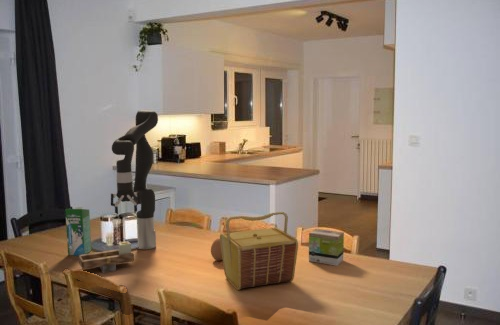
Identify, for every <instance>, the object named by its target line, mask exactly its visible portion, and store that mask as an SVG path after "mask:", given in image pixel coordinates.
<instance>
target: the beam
mask: <svg viewBox="0 0 500 325" xmlns="http://www.w3.org/2000/svg"><path fill="white" fill-rule="evenodd" d="M77 256H78V257H77V258H78V264H79V265H80V267H81V269H82V270H87V269H94V268H95V269H96V268H99V269H100V271H101V272H102V273H103V274H105V273H112V272H116V271H117V264H118V265H120V264H126V263H132V262H135V254H134V252H131V253H128V254H122V255H119V248H118V249H112V250H104V251H98V252H97V251H96V252H92V253H90V252H89V253H87V254H83V255H77Z"/></svg>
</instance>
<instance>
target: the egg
mask: <svg viewBox="0 0 500 325" xmlns="http://www.w3.org/2000/svg"><path fill="white" fill-rule="evenodd" d="M210 255H211V257H212V259H214V260H215V261H218V262H221V261H223V259H222V251H221V243H220V238H216V239H215V240H214V241H213V242H212V244H211V246H210Z"/></svg>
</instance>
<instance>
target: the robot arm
mask: <svg viewBox="0 0 500 325" xmlns="http://www.w3.org/2000/svg"><path fill="white" fill-rule="evenodd" d="M158 121H159V117H158V113H157V112H156V111H154V110H138V111H137V112H136V114H135V126H133V127H131V128H130V129H129V130H128V131H127V132H125V133H124V135H121V136H120V137H118V138H117V139H115V140H114V141H113V143H112V145H111V151H112V154H114V155H117V156H124V158H122V159H119V160H117V161H116V193H113V192H112V193H110V206H111V207H114V213H115V214H116V215H119V209H118V208H119V205H120V203H121V202H131V203H132V204H133V210H134V212H133V213H135V214H136V229H137V230H136V232H137V233H136V234H137V247H138V246H139V248H138V250H151V249H152V250H153V249H155V248H157V241H156V240H157V239H156V238H157V237H156V236H157V235H156V232H157V231H156V230H155V211H156V194H155V192H154V190H153V189H151V188H147V178H148V176H149V173H150V171H151V169H152V167H153V163H154V162H153V161H154V151H153V149H152V147H151V145H150V143H149V141H148V140H147V137H146V134H147V133H148V132H150V131H151V130H153V129H155V127H156V126H157V125H158ZM135 145H136V146H135ZM134 151H135V171H134V173H135V174H134V183H133V173H132V163H133V162H132V161H133V156H134ZM116 197H117V200H116V202H114V199H115V198H116ZM138 205H140V210H138Z"/></svg>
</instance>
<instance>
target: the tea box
mask: <svg viewBox="0 0 500 325" xmlns="http://www.w3.org/2000/svg"><path fill="white" fill-rule="evenodd" d="M308 236H309V237H308V262H313V263H318V264H325V265H331V266H335V267H338V266H339V265H340V264H341V263H342V262H343V261H344V247H345V246H344V245H345V244H344V241H345V237H344V236H345V232H343V231H337V230H335V231H334V230H330V229H329V230H328V229H320V228H315V229H314V230H312V231H310V232H309V233H308Z"/></svg>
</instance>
